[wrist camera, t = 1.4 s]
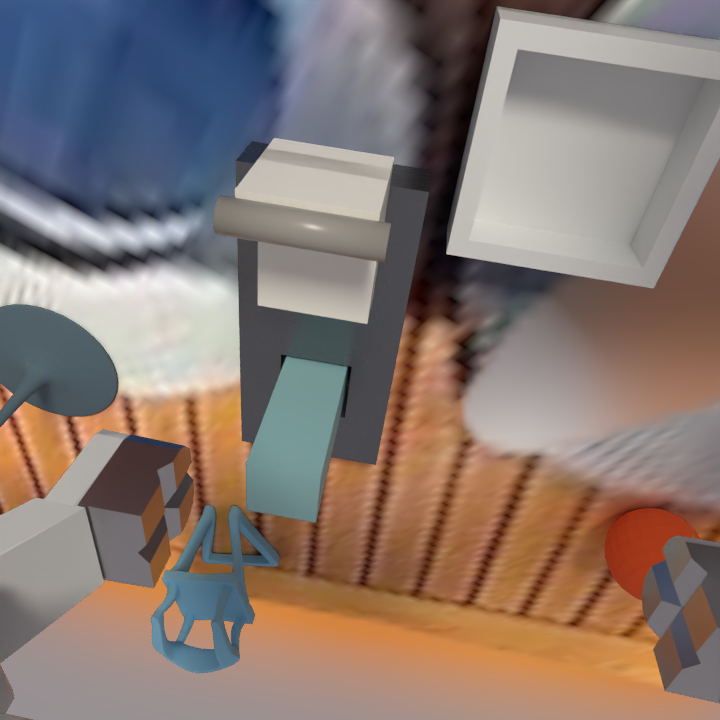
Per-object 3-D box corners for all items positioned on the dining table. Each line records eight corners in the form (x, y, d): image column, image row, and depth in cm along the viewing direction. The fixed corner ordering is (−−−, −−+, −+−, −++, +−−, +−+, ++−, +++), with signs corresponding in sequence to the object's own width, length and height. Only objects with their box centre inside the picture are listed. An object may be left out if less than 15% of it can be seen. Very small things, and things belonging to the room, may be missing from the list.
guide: (252, 141, 32) (235, 160, 30) (431, 170, 32) (429, 192, 30) (253, 412, 46) (241, 440, 43) (379, 435, 45) (375, 464, 43)
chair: (261, 505, 53) (219, 636, 44) (280, 559, 58) (246, 686, 49) (182, 502, 54) (124, 629, 45) (207, 555, 59) (160, 679, 50)
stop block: (295, 331, 40) (245, 463, 31) (353, 341, 40) (320, 477, 31) (293, 375, 43) (246, 510, 33) (347, 385, 43) (315, 522, 33)
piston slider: (264, 136, 29) (212, 200, 23) (404, 159, 29) (389, 229, 23) (263, 275, 34) (220, 358, 28) (382, 295, 34) (365, 383, 28)
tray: (496, 6, 27) (500, 18, 24) (737, 42, 27) (769, 59, 24) (447, 225, 34) (446, 254, 31) (638, 256, 33) (653, 288, 31)
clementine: (630, 471, 44) (655, 553, 39) (717, 493, 44) (754, 579, 39) (582, 531, 49) (597, 611, 44) (660, 551, 49) (685, 633, 44)
